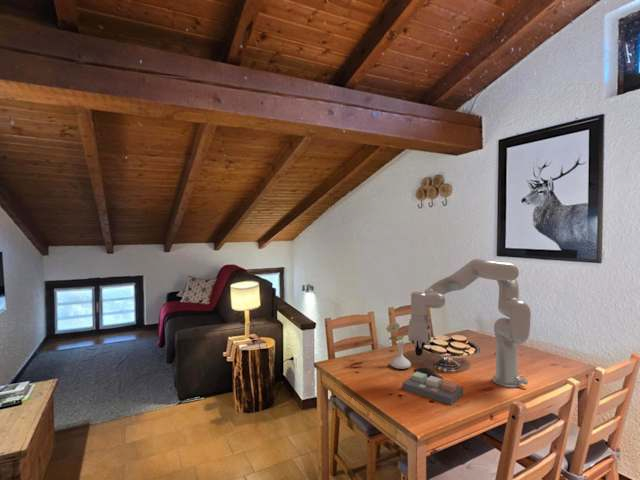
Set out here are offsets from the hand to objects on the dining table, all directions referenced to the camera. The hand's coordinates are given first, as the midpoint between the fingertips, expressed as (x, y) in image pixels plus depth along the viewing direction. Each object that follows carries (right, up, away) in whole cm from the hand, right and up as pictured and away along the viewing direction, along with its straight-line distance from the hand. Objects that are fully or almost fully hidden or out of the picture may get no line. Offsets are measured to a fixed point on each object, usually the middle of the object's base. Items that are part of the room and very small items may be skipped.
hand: (418, 354), depth 168 cm
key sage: (0, -13, 0) cm, 13 cm away
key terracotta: (+11, -13, -10) cm, 20 cm away
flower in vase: (-4, -15, +24) cm, 28 cm away
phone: (+8, -15, +12) cm, 21 cm away
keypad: (+4, -15, -6) cm, 17 cm away
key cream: (+6, -13, -5) cm, 15 cm away
